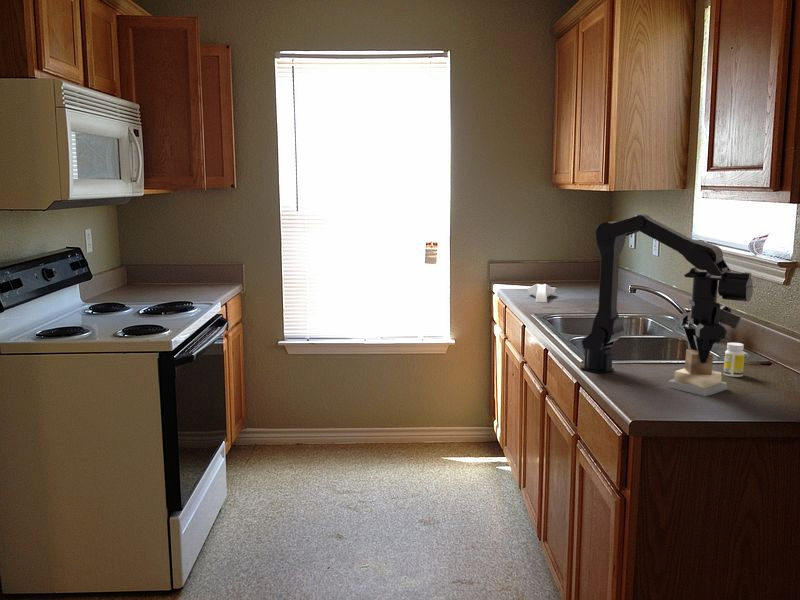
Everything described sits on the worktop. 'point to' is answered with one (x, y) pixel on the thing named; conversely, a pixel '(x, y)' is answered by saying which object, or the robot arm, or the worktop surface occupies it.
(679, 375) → the birch top block
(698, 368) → the walnut cube
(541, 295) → the spoon rest
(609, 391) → the worktop surface
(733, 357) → the supplement bottle
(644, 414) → the worktop surface
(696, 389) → the grey base block
